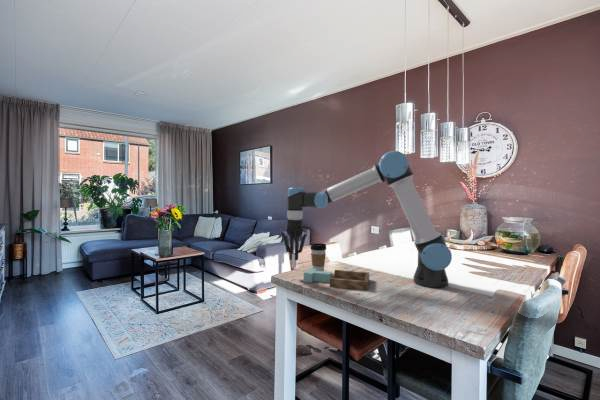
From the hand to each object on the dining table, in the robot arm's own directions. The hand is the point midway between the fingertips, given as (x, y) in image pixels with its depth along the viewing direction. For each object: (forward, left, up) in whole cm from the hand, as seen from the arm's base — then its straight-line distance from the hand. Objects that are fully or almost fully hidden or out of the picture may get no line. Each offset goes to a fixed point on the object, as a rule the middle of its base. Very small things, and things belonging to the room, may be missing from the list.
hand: (293, 266), depth 150 cm
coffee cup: (-9, -14, -6) cm, 18 cm away
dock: (-27, 0, -6) cm, 28 cm away
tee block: (-12, 0, -6) cm, 14 cm away
